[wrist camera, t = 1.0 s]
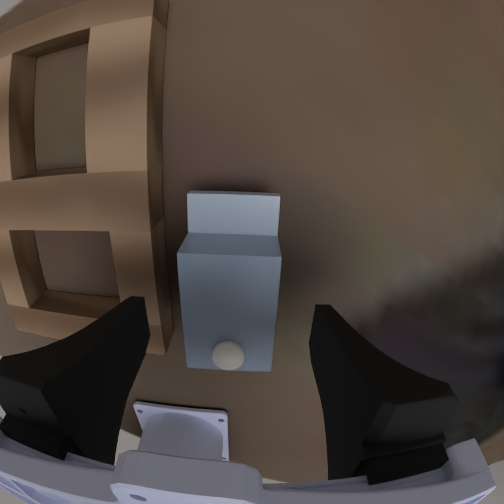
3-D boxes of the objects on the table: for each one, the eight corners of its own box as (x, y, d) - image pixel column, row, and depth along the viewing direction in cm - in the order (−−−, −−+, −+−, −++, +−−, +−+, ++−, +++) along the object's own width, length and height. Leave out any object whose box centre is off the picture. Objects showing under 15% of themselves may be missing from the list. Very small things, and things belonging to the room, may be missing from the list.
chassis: (173, 330, 20) (165, 355, 18) (33, 312, 20) (17, 330, 18) (169, 2, 12) (155, -15, 10) (5, 47, 12) (-18, 43, 10)
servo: (275, 182, 16) (286, 215, 11) (265, 331, 20) (268, 402, 15) (199, 180, 16) (171, 211, 11) (203, 329, 20) (189, 398, 14)
